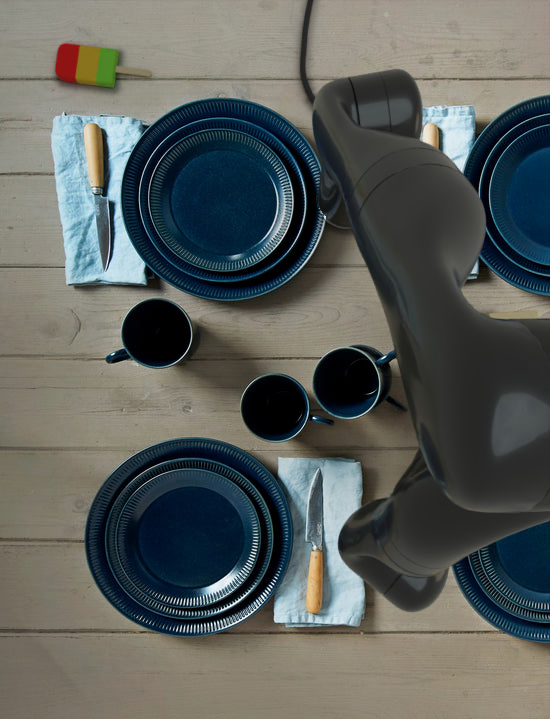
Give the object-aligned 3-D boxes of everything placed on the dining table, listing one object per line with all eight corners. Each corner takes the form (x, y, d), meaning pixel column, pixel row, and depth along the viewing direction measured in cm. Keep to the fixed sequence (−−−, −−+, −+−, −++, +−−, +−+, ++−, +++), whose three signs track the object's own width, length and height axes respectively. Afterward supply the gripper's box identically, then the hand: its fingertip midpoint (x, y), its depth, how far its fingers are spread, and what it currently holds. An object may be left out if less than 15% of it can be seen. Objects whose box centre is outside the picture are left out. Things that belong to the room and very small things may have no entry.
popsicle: (62, 47, 89) (57, 40, 88) (155, 59, 89) (152, 52, 87) (57, 82, 90) (52, 76, 88) (150, 94, 89) (147, 88, 87)
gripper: (519, 498, 63) (554, 420, 74) (436, 398, 63) (484, 336, 75) (467, 515, 68) (507, 440, 80) (391, 423, 68) (442, 361, 80)
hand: (496, 390), depth 77 cm, fingers closed on mulberry block, 6 cm apart
